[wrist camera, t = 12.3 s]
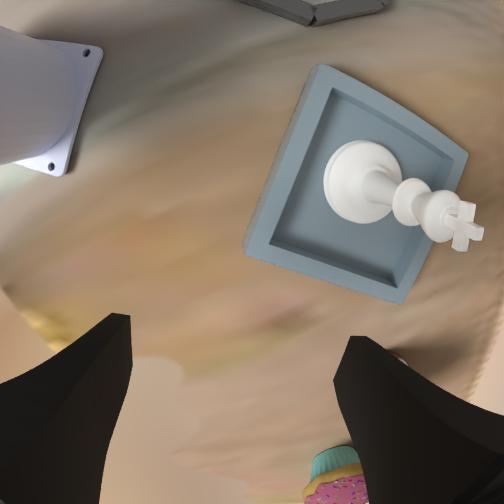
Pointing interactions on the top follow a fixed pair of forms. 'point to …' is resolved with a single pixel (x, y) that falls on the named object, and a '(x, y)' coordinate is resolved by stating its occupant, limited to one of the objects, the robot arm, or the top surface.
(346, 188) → the chess piece
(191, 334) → the top surface
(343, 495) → the cupcake
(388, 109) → the tray
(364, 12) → the collar
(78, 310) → the top surface
